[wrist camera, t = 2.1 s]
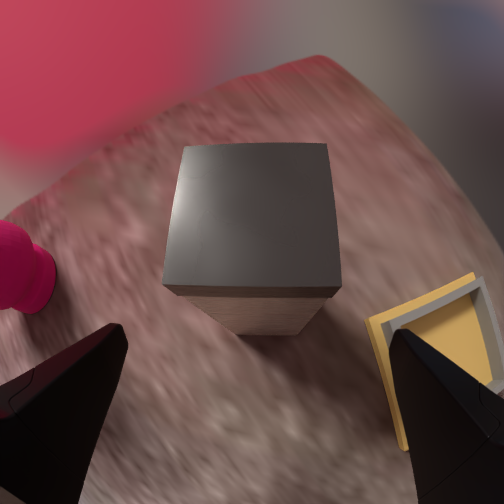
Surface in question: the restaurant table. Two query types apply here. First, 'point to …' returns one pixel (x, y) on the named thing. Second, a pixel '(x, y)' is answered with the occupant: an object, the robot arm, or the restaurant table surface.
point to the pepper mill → (23, 271)
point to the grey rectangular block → (254, 235)
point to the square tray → (444, 335)
